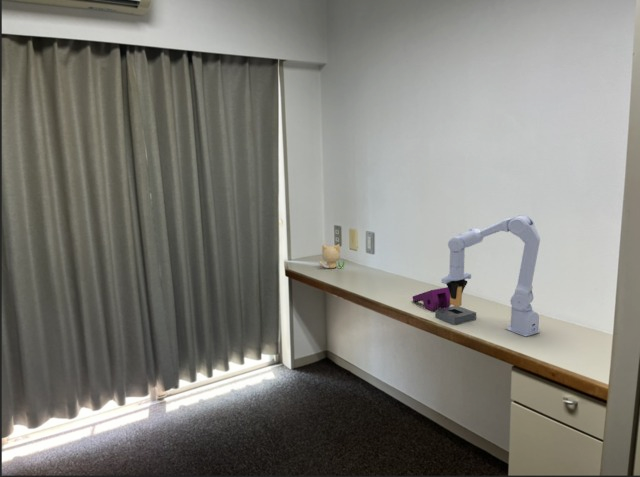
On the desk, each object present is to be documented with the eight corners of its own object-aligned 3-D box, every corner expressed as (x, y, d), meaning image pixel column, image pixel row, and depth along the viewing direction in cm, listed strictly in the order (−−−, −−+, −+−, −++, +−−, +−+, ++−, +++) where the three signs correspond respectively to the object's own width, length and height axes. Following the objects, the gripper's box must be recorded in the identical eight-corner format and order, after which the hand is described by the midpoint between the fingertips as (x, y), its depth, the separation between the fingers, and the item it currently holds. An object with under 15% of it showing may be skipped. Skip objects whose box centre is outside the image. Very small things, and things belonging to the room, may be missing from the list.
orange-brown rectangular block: (461, 305, 192) (461, 286, 191) (457, 306, 191) (457, 287, 190) (454, 303, 196) (454, 284, 194) (450, 304, 195) (450, 285, 193)
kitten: (345, 266, 290) (344, 242, 287) (343, 270, 280) (343, 245, 278) (321, 266, 292) (320, 242, 289) (319, 269, 282) (318, 245, 279)
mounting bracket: (413, 315, 216) (436, 309, 201) (408, 297, 218) (431, 290, 202) (429, 312, 220) (453, 305, 205) (424, 294, 222) (448, 287, 206)
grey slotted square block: (476, 319, 192) (476, 312, 192) (454, 325, 187) (454, 317, 186) (456, 312, 202) (456, 305, 201) (435, 317, 196) (435, 310, 196)
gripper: (462, 261, 197) (461, 292, 200) (436, 266, 190) (435, 298, 193) (475, 264, 191) (474, 296, 194) (449, 269, 184) (448, 302, 187)
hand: (456, 297), depth 193 cm, fingers closed on orange-brown rectangular block, 2 cm apart
